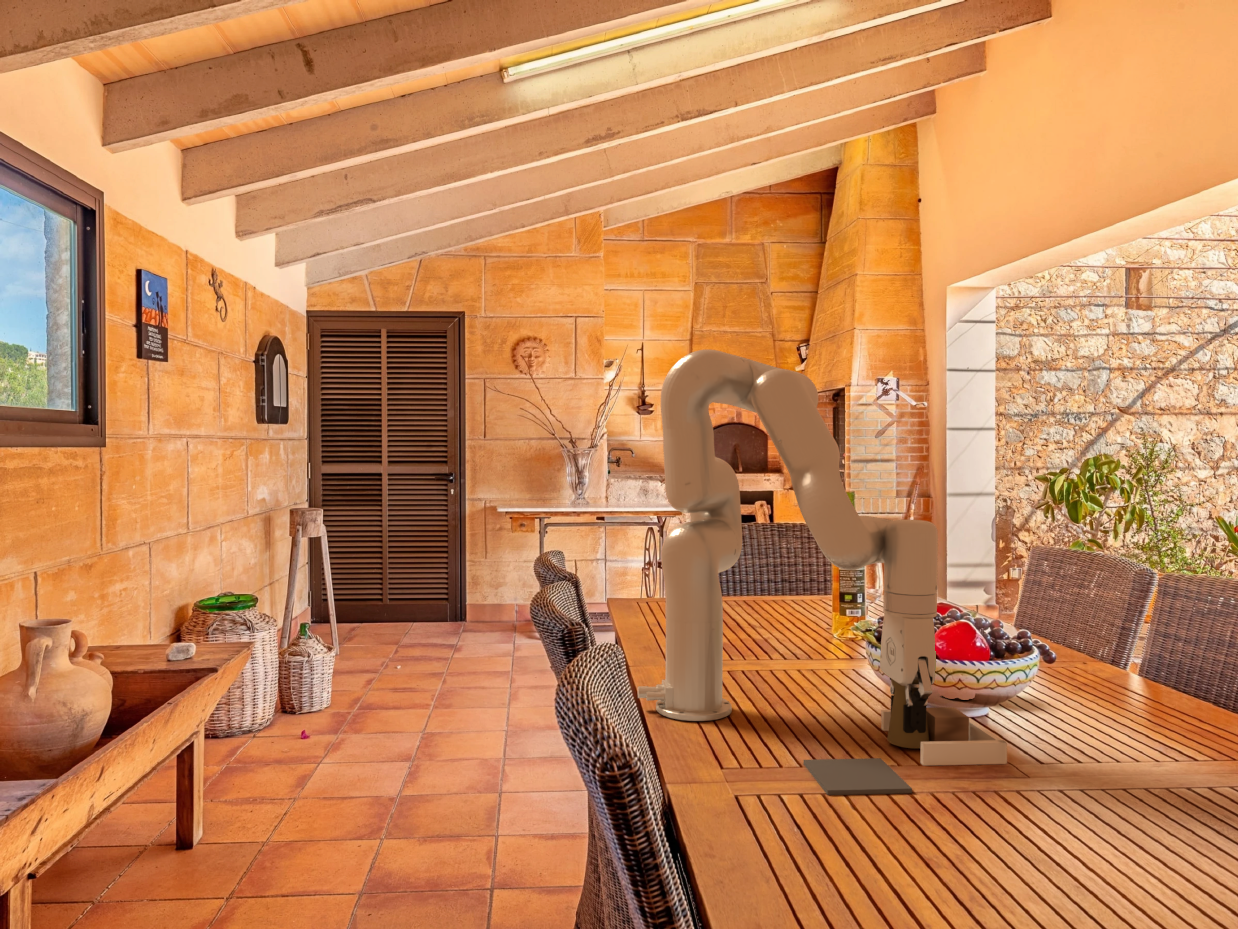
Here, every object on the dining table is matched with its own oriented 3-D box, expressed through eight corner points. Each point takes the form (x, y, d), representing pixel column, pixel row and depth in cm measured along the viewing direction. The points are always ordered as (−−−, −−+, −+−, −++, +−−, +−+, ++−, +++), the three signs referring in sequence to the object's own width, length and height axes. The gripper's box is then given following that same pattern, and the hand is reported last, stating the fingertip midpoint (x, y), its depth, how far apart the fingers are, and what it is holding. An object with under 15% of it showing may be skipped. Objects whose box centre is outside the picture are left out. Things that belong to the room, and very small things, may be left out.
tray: (923, 765, 122) (923, 744, 122) (881, 729, 138) (881, 709, 138) (1006, 763, 123) (1007, 742, 123) (955, 727, 139) (955, 708, 139)
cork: (932, 749, 127) (934, 673, 127) (889, 746, 128) (890, 671, 128) (926, 736, 133) (928, 663, 133) (885, 733, 134) (886, 661, 134)
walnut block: (934, 751, 128) (935, 717, 128) (921, 740, 133) (921, 707, 133) (968, 751, 129) (968, 717, 128) (953, 740, 134) (954, 707, 133)
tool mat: (827, 795, 112) (827, 790, 112) (803, 764, 123) (803, 759, 123) (912, 793, 113) (912, 788, 113) (880, 762, 124) (880, 758, 124)
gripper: (865, 594, 138) (863, 710, 139) (907, 614, 122) (905, 746, 122) (912, 594, 139) (910, 709, 139) (960, 614, 122) (958, 746, 122)
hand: (907, 725), depth 131 cm, fingers closed on cork, 4 cm apart
